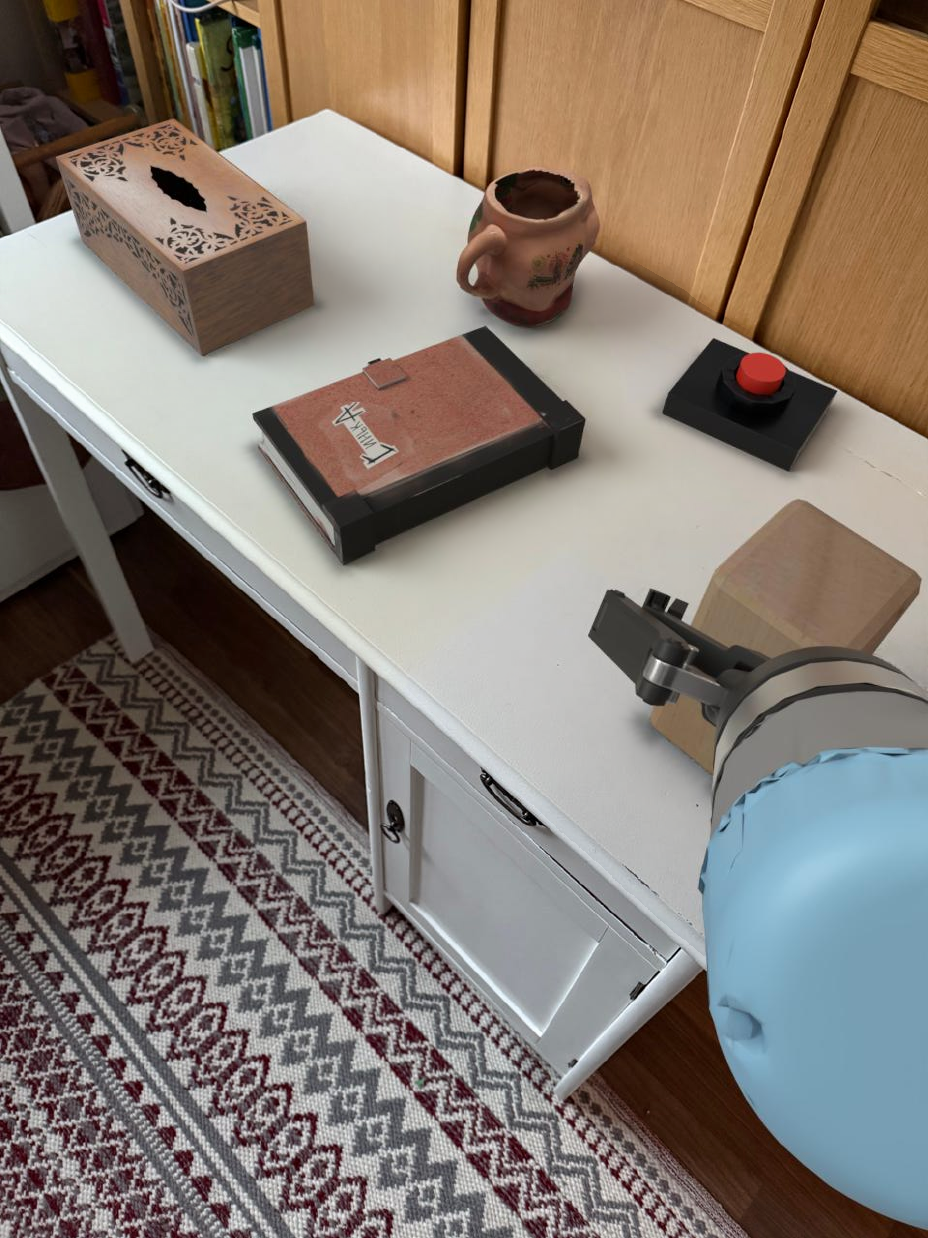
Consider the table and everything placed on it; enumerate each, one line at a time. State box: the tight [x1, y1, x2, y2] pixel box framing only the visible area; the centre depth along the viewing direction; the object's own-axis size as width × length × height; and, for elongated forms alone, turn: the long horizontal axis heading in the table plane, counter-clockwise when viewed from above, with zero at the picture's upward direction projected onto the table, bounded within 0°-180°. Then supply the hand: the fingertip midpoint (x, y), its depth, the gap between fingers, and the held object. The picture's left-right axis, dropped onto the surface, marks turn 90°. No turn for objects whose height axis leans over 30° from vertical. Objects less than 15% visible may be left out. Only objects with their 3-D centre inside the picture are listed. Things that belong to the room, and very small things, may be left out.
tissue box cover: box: [55, 117, 315, 357], centre depth 99 cm, size 26×14×10 cm, turn 41°
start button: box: [736, 352, 786, 395], centre depth 90 cm, size 4×4×2 cm
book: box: [251, 325, 587, 566], centre depth 87 cm, size 26×18×5 cm
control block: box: [662, 337, 838, 472], centre depth 92 cm, size 14×11×4 cm
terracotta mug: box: [455, 166, 601, 327], centre depth 97 cm, size 20×12×14 cm, turn 141°
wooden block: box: [649, 498, 923, 777], centre depth 64 cm, size 10×10×20 cm
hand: (791, 672), depth 49 cm, fingers open, 13 cm apart
